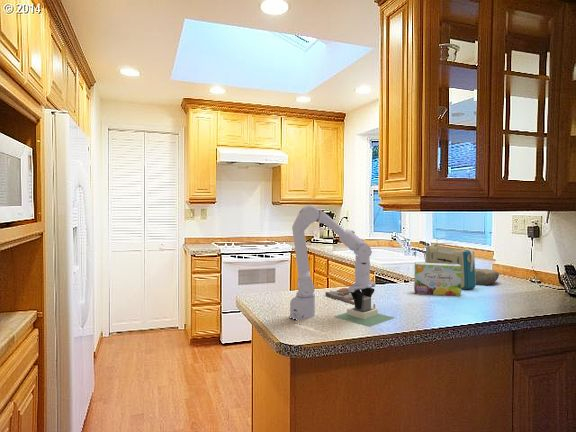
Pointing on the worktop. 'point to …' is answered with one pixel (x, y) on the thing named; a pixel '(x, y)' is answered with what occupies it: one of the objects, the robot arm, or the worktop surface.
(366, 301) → the plug
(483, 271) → the stone
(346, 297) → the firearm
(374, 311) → the socket
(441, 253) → the radio
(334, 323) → the worktop surface
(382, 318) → the board
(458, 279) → the snack box
